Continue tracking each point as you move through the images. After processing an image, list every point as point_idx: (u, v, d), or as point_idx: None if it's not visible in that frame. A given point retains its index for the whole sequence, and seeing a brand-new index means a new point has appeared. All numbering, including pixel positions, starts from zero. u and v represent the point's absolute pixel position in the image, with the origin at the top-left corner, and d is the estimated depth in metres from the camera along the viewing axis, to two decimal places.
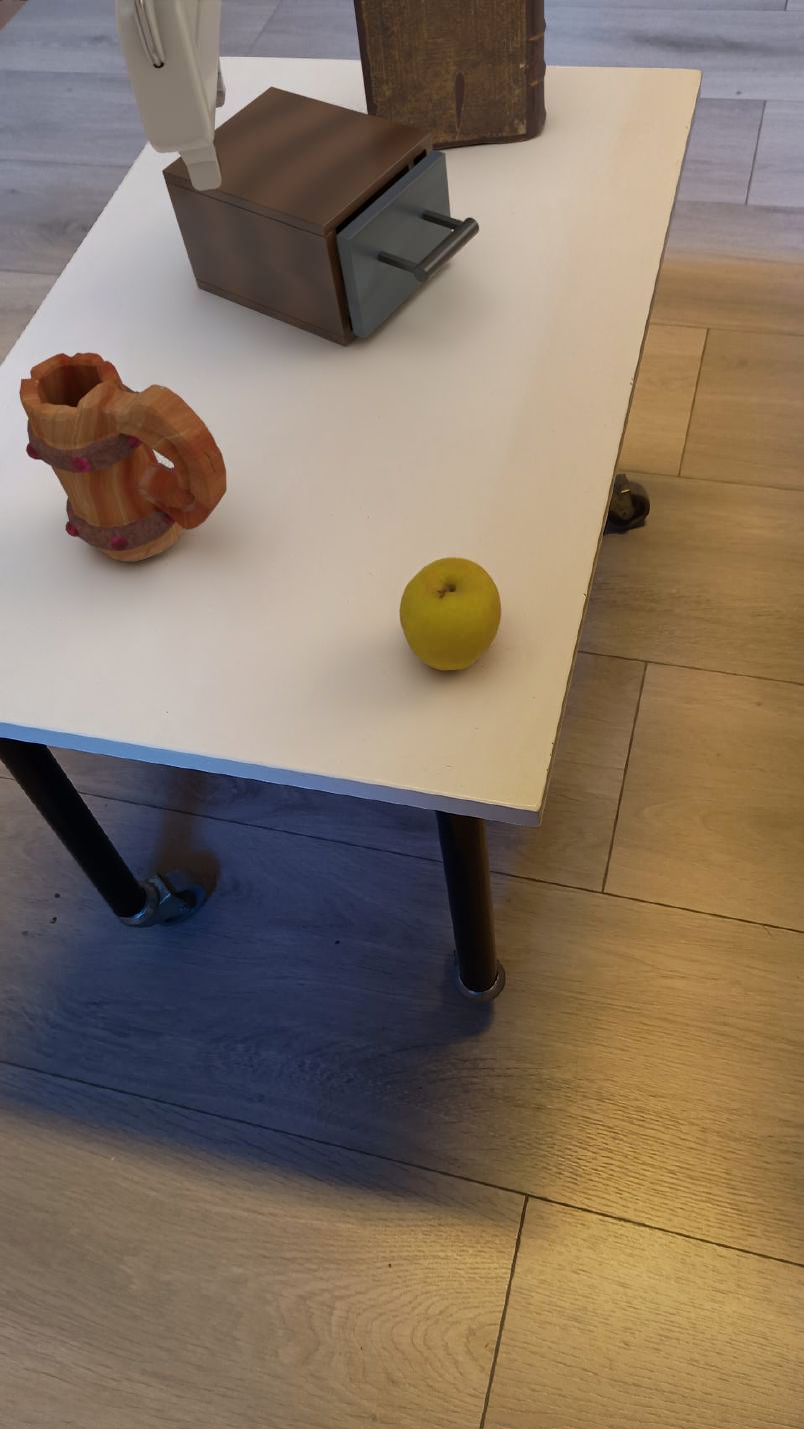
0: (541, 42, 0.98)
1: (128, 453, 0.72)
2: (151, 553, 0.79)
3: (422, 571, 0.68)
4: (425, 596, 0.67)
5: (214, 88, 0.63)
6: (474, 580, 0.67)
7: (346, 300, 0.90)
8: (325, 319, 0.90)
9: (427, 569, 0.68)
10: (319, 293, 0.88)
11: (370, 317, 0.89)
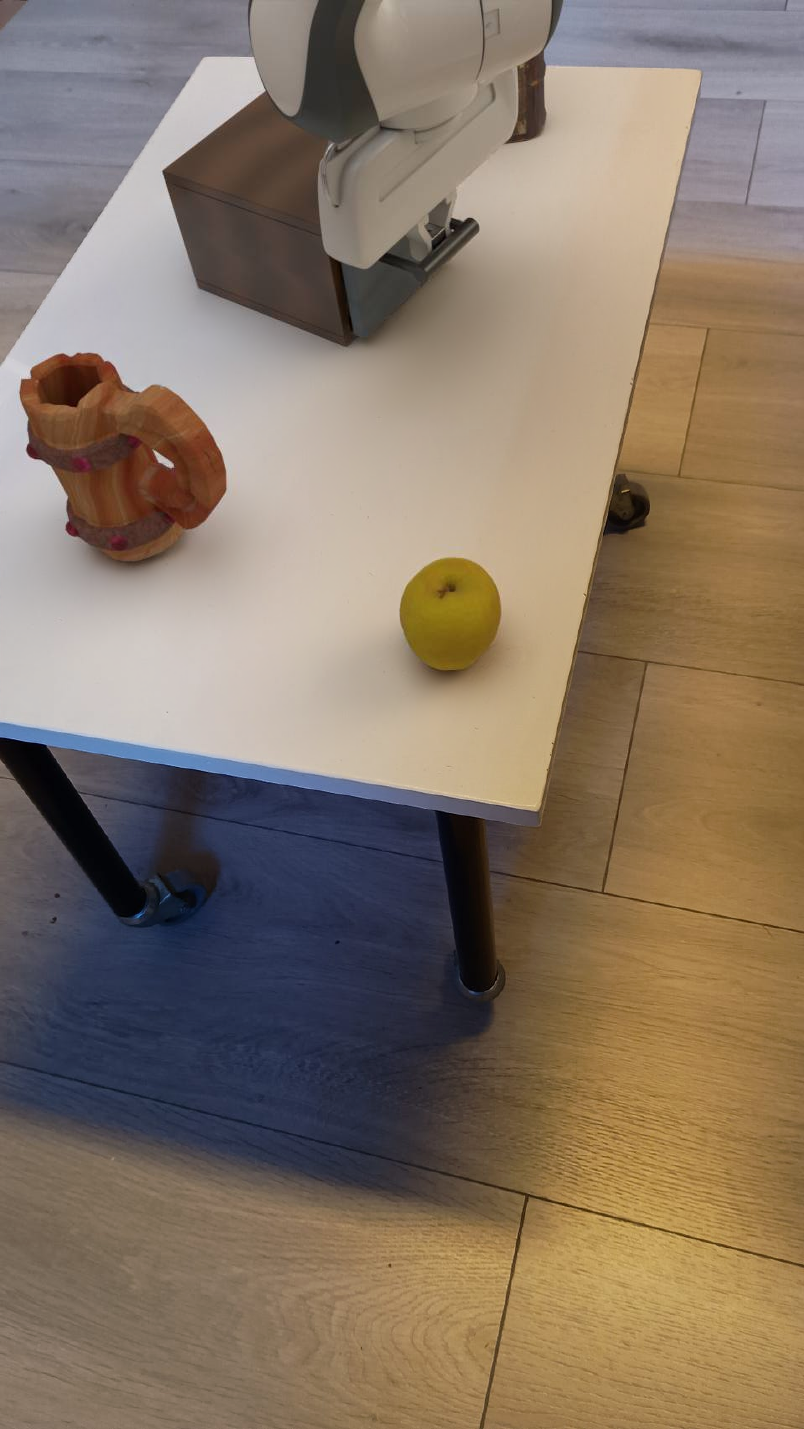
0: None
1: (128, 453, 0.72)
2: (151, 553, 0.79)
3: (422, 571, 0.68)
4: (425, 595, 0.67)
5: (402, 226, 0.80)
6: (474, 580, 0.67)
7: (346, 300, 0.90)
8: (325, 319, 0.90)
9: (427, 569, 0.68)
10: (319, 293, 0.88)
11: (370, 317, 0.89)
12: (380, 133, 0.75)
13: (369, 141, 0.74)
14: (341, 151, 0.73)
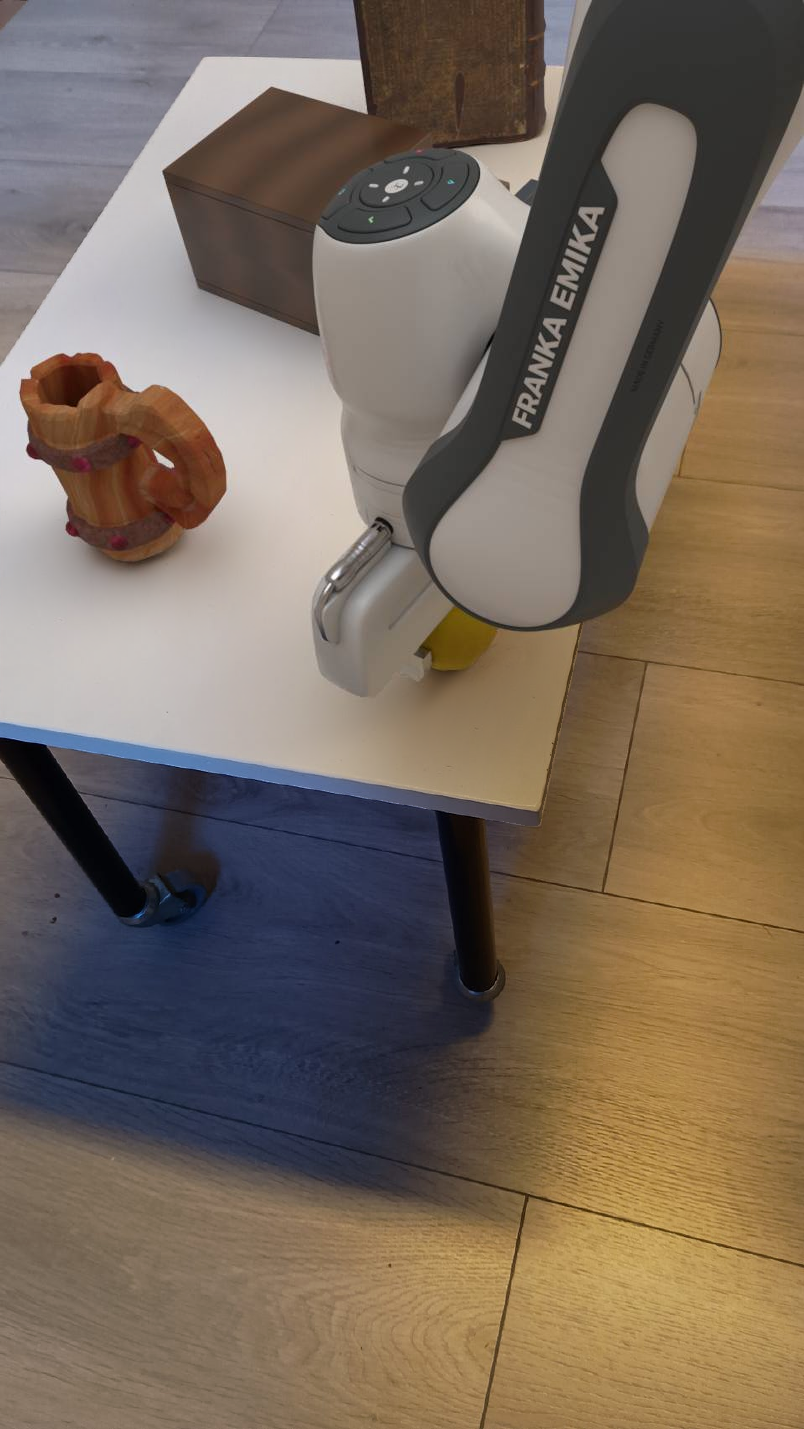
0: (541, 42, 0.98)
1: (128, 453, 0.72)
2: (151, 553, 0.79)
3: None
4: None
5: (419, 639, 0.63)
6: None
7: None
8: None
9: None
10: None
11: None
12: (391, 553, 0.58)
13: (377, 566, 0.58)
14: (341, 588, 0.56)
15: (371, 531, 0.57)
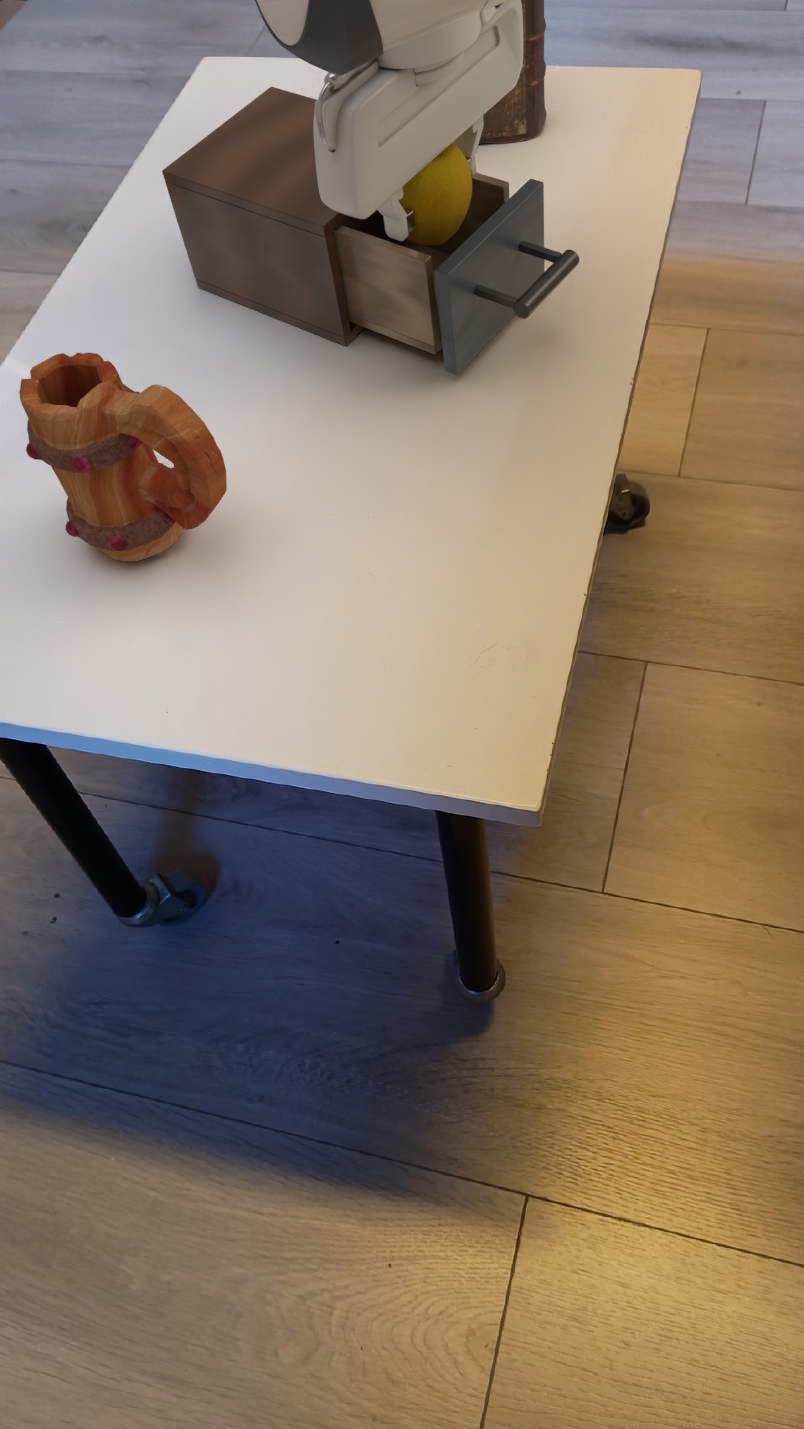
0: (541, 42, 0.98)
1: (128, 453, 0.72)
2: (151, 553, 0.79)
3: None
4: None
5: (402, 175, 0.76)
6: (448, 149, 0.80)
7: (437, 334, 0.86)
8: (325, 319, 0.90)
9: None
10: (319, 293, 0.88)
11: (463, 353, 0.85)
12: (379, 74, 0.71)
13: (367, 82, 0.71)
14: (338, 91, 0.70)
15: None
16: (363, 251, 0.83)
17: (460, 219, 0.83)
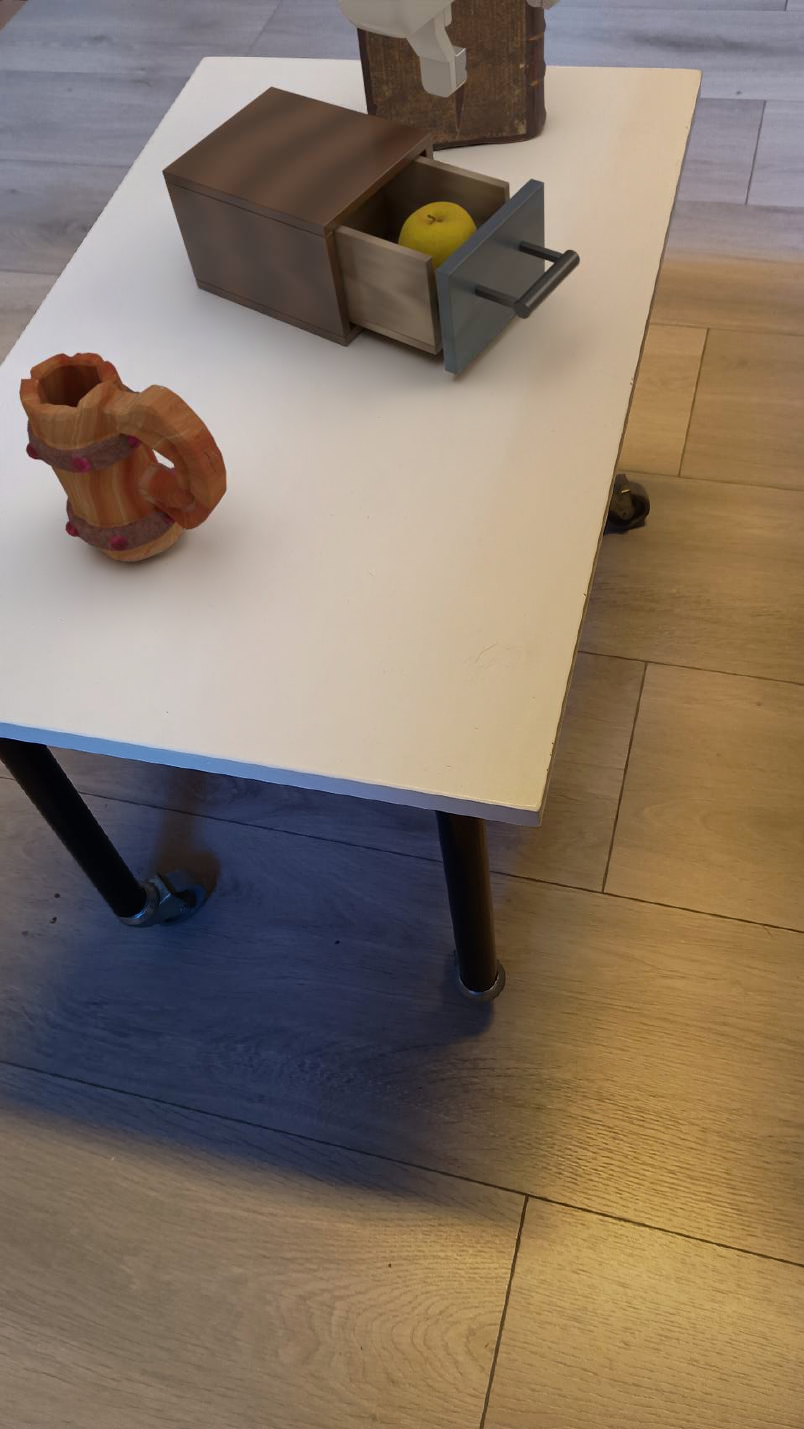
0: (541, 42, 0.98)
1: (128, 453, 0.72)
2: (151, 553, 0.79)
3: None
4: (417, 223, 0.84)
5: None
6: (457, 214, 0.84)
7: (438, 335, 0.86)
8: (325, 319, 0.90)
9: (420, 208, 0.85)
10: (319, 293, 0.88)
11: (463, 353, 0.85)
12: None
13: None
14: None
15: None
16: (363, 251, 0.83)
17: None
